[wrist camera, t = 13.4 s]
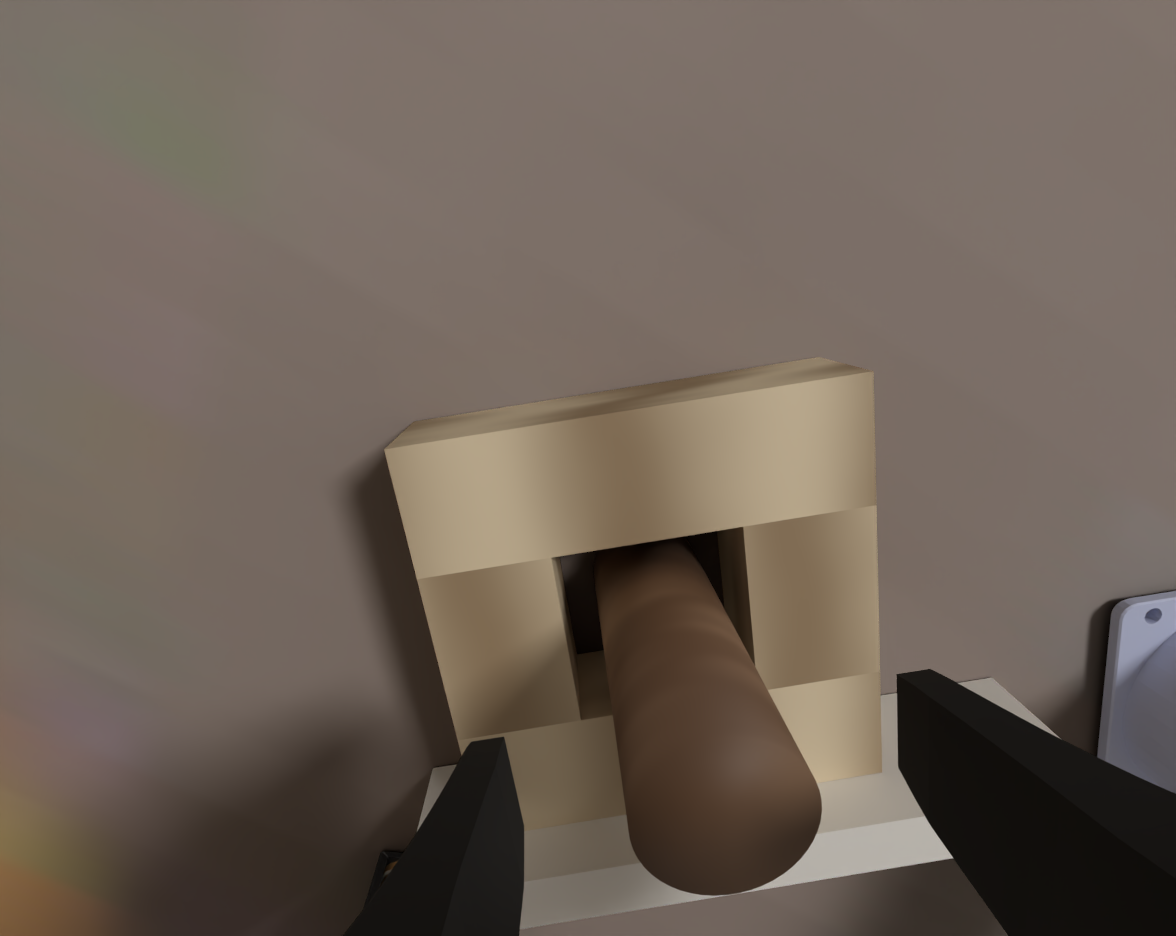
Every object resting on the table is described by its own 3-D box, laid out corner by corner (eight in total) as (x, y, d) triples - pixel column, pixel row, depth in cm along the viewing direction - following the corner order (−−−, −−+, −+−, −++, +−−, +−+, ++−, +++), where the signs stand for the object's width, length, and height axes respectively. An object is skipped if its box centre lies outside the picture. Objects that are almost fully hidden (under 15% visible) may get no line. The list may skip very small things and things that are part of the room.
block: (818, 357, 17) (873, 371, 14) (834, 702, 20) (882, 772, 17) (413, 421, 17) (383, 449, 14) (493, 758, 20) (482, 838, 17)
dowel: (694, 515, 18) (825, 728, 9) (696, 609, 19) (818, 884, 10) (589, 524, 18) (622, 748, 9) (597, 618, 19) (633, 904, 10)
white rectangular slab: (991, 677, 20) (1113, 785, 16) (986, 814, 21) (1095, 947, 17) (432, 768, 20) (398, 902, 15) (468, 899, 21) (445, 1055, 17)
